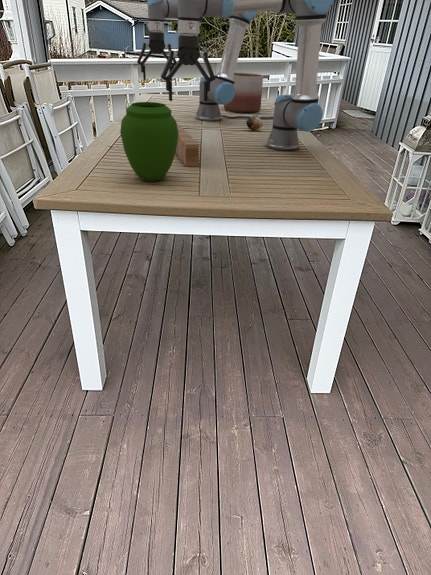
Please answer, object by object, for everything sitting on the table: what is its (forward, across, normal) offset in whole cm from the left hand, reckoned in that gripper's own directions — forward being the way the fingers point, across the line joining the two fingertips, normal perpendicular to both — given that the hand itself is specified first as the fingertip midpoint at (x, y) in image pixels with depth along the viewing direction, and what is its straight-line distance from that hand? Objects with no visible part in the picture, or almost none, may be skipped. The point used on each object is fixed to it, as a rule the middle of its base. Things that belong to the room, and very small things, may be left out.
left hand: (157, 80), depth 212 cm
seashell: (+23, +51, -13) cm, 57 cm away
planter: (+23, +66, +51) cm, 87 cm away
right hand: (0, 0, -70) cm, 70 cm away
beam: (+23, 0, -35) cm, 42 cm away
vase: (+23, -18, -90) cm, 95 cm away
